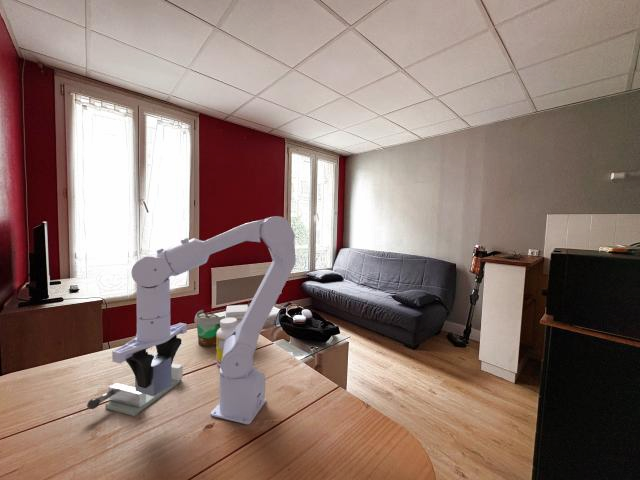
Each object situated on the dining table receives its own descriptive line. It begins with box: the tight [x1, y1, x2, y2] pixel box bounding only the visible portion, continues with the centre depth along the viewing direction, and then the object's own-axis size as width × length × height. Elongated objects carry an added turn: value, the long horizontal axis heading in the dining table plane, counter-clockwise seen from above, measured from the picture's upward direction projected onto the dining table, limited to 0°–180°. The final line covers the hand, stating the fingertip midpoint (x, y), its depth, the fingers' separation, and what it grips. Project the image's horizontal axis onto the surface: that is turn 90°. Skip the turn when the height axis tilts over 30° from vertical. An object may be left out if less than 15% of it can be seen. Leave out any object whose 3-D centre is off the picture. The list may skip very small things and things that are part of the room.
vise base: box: [105, 362, 184, 417], centre depth 62 cm, size 9×13×4 cm, turn 165°
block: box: [134, 352, 172, 397], centre depth 53 cm, size 5×4×6 cm
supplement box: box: [225, 304, 249, 326], centre depth 88 cm, size 7×7×13 cm
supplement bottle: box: [215, 317, 237, 368], centre depth 76 cm, size 7×7×13 cm
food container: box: [194, 309, 226, 348], centre depth 88 cm, size 12×6×10 cm, turn 62°
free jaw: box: [86, 382, 146, 410], centre depth 55 cm, size 9×6×3 cm
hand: (154, 379), depth 53 cm, fingers closed on block, 4 cm apart
